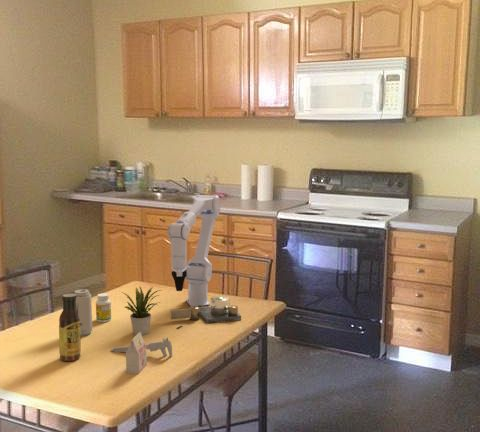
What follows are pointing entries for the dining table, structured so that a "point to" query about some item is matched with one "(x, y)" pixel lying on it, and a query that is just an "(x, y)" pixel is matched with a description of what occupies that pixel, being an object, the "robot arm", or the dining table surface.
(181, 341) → the dining table surface
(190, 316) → the ball-topped bar
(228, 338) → the dining table surface
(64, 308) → the sauce bottle
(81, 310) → the energy drink can
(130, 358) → the paper snack bag
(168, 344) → the caliper
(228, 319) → the levelling base
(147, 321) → the house plant
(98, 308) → the supplement bottle
